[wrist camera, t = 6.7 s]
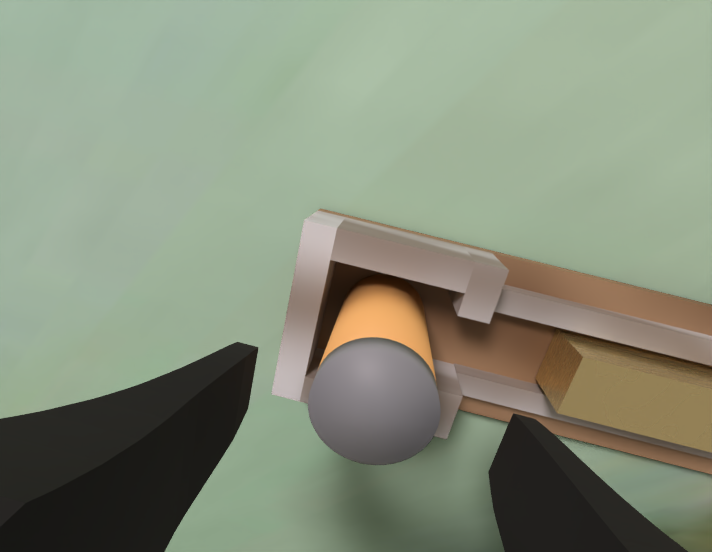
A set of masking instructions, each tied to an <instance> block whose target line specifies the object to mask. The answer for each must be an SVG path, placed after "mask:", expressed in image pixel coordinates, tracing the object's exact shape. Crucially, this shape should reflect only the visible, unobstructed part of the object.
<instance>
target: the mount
mask: <svg viewBox="0 0 712 552" xmlns="http://www.w3.org/2000/svg"><path fill="white" fill-rule="evenodd" d="M378 274H387V275H393V276H396V277H399V278H401V279H403V280H405V281H406V282H408V283H409V284H410V285H412V286H413V287H414V289H415V290H416V291H417V292H418V294H419V296H420V298H421V300H422V303H423V307H424V313H425V319H426V324H427V330H428V336H429V342H430V348H431V354H432V360H433V365H434V371H435V377H436V383H437V389H438V395H439V401H440V410H441V413H440V421H439V425H438V428H437V430H436V433H435V435H434V436H435V437H439V438H443V439H447V438H448V435H449V432H450V430H451V427H452V424H453V421H454V419H455V416H456V413H457V411H458V409H459V410H463V411H467V412H471V413H475V414H479V415H483V416H487V417H490V418H494V419H498V420H502V421H506V422H510V420H511V417H512V415H513V413H514V414H518V415H522V416H526V417H530V418H534V419H536V420H537V421H539V422H540V423H541V424H542V425H544V426H545V427H546V428H547V429H548V430H549V431H551V432H552V433H553V434H557V435H561V436H564V437H568V438H572V439H576V440H580V441H584V442H588V443H592V444H596V445H600V446H603V447H607V448H611V449H615V450H619V451H623V452H627V453H631V454H635V455H639V456H642V457H646V458H650V459H654V460H658V461H662V462H666V463H670V464H674V465H677V466H681V467H685V468H689V469H693V470H697V471H701V472H705V473H709V474H712V453H711V452H707V451H703V450H699V449H695V448H692V447H688V446H684V445H680V444H676V443H672V442H668V441H664V440H660V439H656V438H652V437H648V436H644V435H641V434H637V433H633V432H629V431H625V430H621V429H617V428H613V427H609V426H605V425H601V424H597V423H594V422H590V421H586V420H582V419H578V418H574V417H570V416H566V415H562V414H558V413H557V412H556V411H555V409H554V407H553V406H552V404H551V403H550V401H549V399H548V398H547V396H546V395H545V393H544V391H543V390H542V388H541V387H540V385H539V383H538V382H537V380H536V375H537V373H538V371H539V368H540V366H541V364H542V361H543V359H544V357H545V354H546V352H547V350H548V347H549V345H550V343H551V340H552V338H553V336H554V333H555V331H556V329H561V330H565V331H569V332H573V333H577V334H581V335H585V336H589V337H593V338H597V339H601V340H605V341H609V342H613V343H617V344H621V345H625V346H629V347H633V348H637V349H641V350H645V351H649V352H653V353H657V354H661V355H665V356H669V357H673V358H677V359H681V360H685V361H689V362H693V363H697V364H701V365H705V366H709V367H712V305H711V304H707V303H702V302H698V301H694V300H690V299H686V298H682V297H678V296H674V295H670V294H666V293H662V292H658V291H654V290H650V289H646V288H641V287H637V286H633V285H629V284H625V283H621V282H617V281H613V280H609V279H605V278H601V277H597V276H593V275H589V274H584V273H580V272H576V271H572V270H568V269H564V268H560V267H556V266H552V265H548V264H544V263H540V262H536V261H532V260H528V259H523V258H519V257H515V256H511V255H507V254H503V253H499V252H495V251H491V250H487V249H483V248H479V247H475V246H471V245H466V244H462V243H458V242H454V241H450V240H446V239H442V238H438V237H434V236H430V235H426V234H422V233H418V232H414V231H410V230H405V229H401V228H397V227H393V226H389V225H385V224H381V223H377V222H373V221H369V220H365V219H361V218H357V217H353V216H348V215H344V214H340V213H336V212H332V211H328V210H324V209H319V210H318V211H316V212H315V213H313V214H312V215H311V216H309V217H308V218H306V219H305V220H304V224H303V229H302V235H301V240H300V245H299V251H298V256H297V261H296V267H295V272H294V277H293V282H292V288H291V293H290V298H289V304H288V309H287V314H286V320H285V325H284V330H283V336H282V341H281V346H280V351H279V357H278V362H277V367H276V373H275V378H274V383H273V389H272V394H273V395H277V396H281V397H285V398H289V399H292V400H296V401H300V402H304V403H308V398H309V393H310V389H311V386H312V384H313V381H314V378H315V376H316V373H317V370H318V368H319V365H320V362H321V360H322V357H323V355H324V352H325V349H326V347H327V344H328V341H329V339H330V336H331V333H332V331H333V328H334V325H335V323H336V320H337V318H338V315H339V312H340V310H341V307H342V304H343V302H344V299H345V297H346V295H347V293H348V291H349V290H350V289H351V288H352V286H354V285H355V284H356V283H357V282H359V281H360V280H362V279H364V278H366V277H369V276H372V275H378Z"/></svg>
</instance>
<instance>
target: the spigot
mask: <svg viewBox="0 0 712 552" xmlns="http://www.w3.org/2000/svg"><path fill="white" fill-rule="evenodd" d="M308 411H309V417H310V420H311V423H312V425H313V427H314V429H315V431H316V433H317V434H318V436H319V437H320V438H321V440H322V441H323V442H324V443H325V444H326V445H327V446H328V447H329V448H331V449H332V450H333V451H335V452H336V453H338V454H339V455H341V456H343V457H345V458H347V459H350V460H352V461H355V462H359V463H363V464H370V465H387V464H393V463H397V462H401V461H403V460H406V459H408V458H410V457H412V456H414V455H416V454H417V453H419V452H420V451H421V450H422V449H423V448H425V447H426V446H427V445H428V443H429V442H430V441H431V440H432V438H433V436H434V435H435V433H436V430H437V428H438V425H439V421H440V413H441V410H440V401H439V395H438V389H437V383H436V377H435V371H434V365H433V360H432V354H431V348H430V342H429V336H428V330H427V324H426V319H425V313H424V307H423V303H422V300H421V298H420V296H419V294H418V292H417V291H416V290H415V289H414V287H413V286H412V285H410V284H409V283H408V282H406V281H405V280H403V279H401V278H399V277H396V276H393V275H387V274H378V275H372V276H369V277H366V278H364V279H362V280H360V281H359V282H357V283H356V284H355V285H354V286H352V288H351V289H350V290H349V291H348V293H347V295H346V297H345V299H344V302H343V304H342V307H341V310H340V312H339V315H338V318H337V320H336V323H335V325H334V328H333V331H332V333H331V336H330V339H329V341H328V344H327V347H326V349H325V352H324V355H323V357H322V360H321V362H320V365H319V368H318V370H317V373H316V376H315V378H314V381H313V384H312V386H311V389H310V393H309V398H308Z"/></svg>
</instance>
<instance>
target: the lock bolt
mask: <svg viewBox="0 0 712 552" xmlns="http://www.w3.org/2000/svg"><path fill="white" fill-rule="evenodd" d="M536 380H537V382H538V383H539V385H540V387H541V388H542V390H543V391H544V393H545V395H546V396H547V398H548V399H549V401H550V403H551V404H552V406H553V407H554V409H555V411H556V412H557V413H558V414H562V415H566V416H570V417H574V418H578V419H582V420H586V421H590V422H594V423H597V424H601V425H605V426H609V427H613V428H617V429H621V430H625V431H629V432H633V433H637V434H641V435H644V436H648V437H652V438H656V439H660V440H664V441H668V442H672V443H676V444H680V445H684V446H688V447H692V448H695V449H699V450H703V451H707V452H711V453H712V367H709V366H705V365H701V364H697V363H693V362H689V361H685V360H681V359H677V358H673V357H669V356H665V355H661V354H657V353H653V352H649V351H645V350H641V349H637V348H633V347H629V346H625V345H621V344H617V343H613V342H609V341H605V340H601V339H597V338H593V337H589V336H585V335H581V334H577V333H573V332H569V331H565V330H561V329H556V331H555V333H554V336H553V338H552V340H551V343H550V345H549V347H548V350H547V352H546V354H545V357H544V359H543V361H542V364H541V366H540V368H539V371H538V373H537V375H536Z"/></svg>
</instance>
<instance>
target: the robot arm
mask: <svg viewBox="0 0 712 552" xmlns="http://www.w3.org/2000/svg"><path fill="white" fill-rule="evenodd" d="M257 353H258V347H255V346H251V345H247V344H243V343H240V342H236V343H234V344H231V345H229V346H227V347H225V348H223V349H221V350H219V351H216V352H214V353H212V354H210V355H208V356H206V357H204V358H202V359H199V360H197V361H195V362H193V363H191V364H189V365H186V366H184V367H182V368H180V369H177V370H175V371H172V372H170V373H167V374H165V375H162V376H160V377H157V378H155V379H152V380H150V381H147V382H145V383H142V384H139V385H136V386H134V387H131V388H128V389H125V390H121V391H118V392H115V393H112V394H108V395H105V396H102V397H98V398H95V399H91V400H87V401H83V402H79V403H74V404H70V405H66V406H62V407H58V408H54V409H50V410H45V411H40V412H35V413H30V414H25V415H19V416H14V417H8V418H2V419H0V552H164V551H165V549H166V548H167V546H168V544H169V542H170V540H171V538H172V536H173V534H174V532H175V531H176V529H177V527H178V526H179V524H180V522H181V521H182V519H183V517H184V515H185V514H186V512H187V511H188V509H189V508H190V506H191V504H192V503H193V501H194V500H195V498H196V497H197V495H198V494H199V492H200V491H201V489H202V487H203V486H204V484H205V483H206V481H207V480H208V478H209V477H210V475H211V474H212V472H213V470H214V469H215V467H216V466H217V464H218V463H219V461H220V460H221V458H222V456H223V455H224V453H225V452H226V450H227V449H228V447H229V445H230V444H231V442H232V441H233V439H234V437H235V435H236V433H237V431H238V429H239V427H240V424H241V422H242V420H243V418H244V416H245V414H246V412H247V410H248V405H249V400H250V394H251V388H252V382H253V376H254V370H255V364H256V359H257ZM489 480H490V488H491V495H492V502H493V508H494V513H495V517H496V521H497V524H498V528H499V532H500V536H501V539H502V543H503V547H504V550H505V552H688V551H687V550H685V549H684V548H683V547H681V546H680V545H679V544H678V543H676V542H675V541H674V540H672V539H671V538H670V537H669V536H667V535H666V534H665V533H663V532H662V531H661V530H660V529H658V528H657V527H656V526H655V525H654V524H652V523H651V522H650V521H649V520H647V519H646V518H645V517H644V516H643V515H642V514H640V513H639V512H638V511H637V510H636V509H635V508H633V507H632V506H631V505H630V504H629V503H628V502H626V501H625V500H624V499H623V498H622V497H621V496H620V495H618V494H617V493H616V492H615V491H614V490H613V489H612V488H611V487H610V486H608V485H607V484H606V483H605V482H604V481H603V480H602V479H601V478H600V477H599V476H598V475H596V474H595V473H594V472H593V471H592V470H591V469H590V468H589V467H588V466H587V465H586V464H585V463H584V462H583V461H581V460H580V459H579V458H578V457H577V456H576V455H575V454H574V453H573V452H572V451H571V450H570V449H569V448H568V447H567V446H566V445H565V444H564V443H562V442H561V441H560V440H559V439H558V438H557V437H556V436H555V435H554V434H553V433H552V432H551V431H549V430H548V429H547V428H546V427H545V426H544V425H542V424H541V423H540V422H539V421H537V420H536V419H534V418H530V417H526V416H522V415H518V414H514V413H513V415H512V417H511V420H510V422H509V424H508V427H507V429H506V431H505V434H504V436H503V439H502V441H501V443H500V446H499V448H498V451H497V453H496V455H495V458H494V460H493V462H492V465H491V467H490V470H489Z"/></svg>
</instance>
